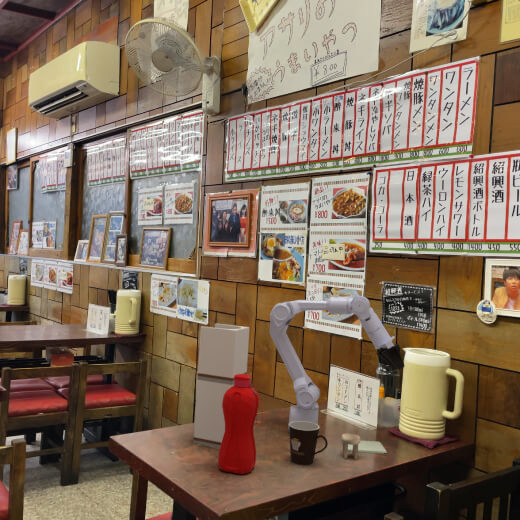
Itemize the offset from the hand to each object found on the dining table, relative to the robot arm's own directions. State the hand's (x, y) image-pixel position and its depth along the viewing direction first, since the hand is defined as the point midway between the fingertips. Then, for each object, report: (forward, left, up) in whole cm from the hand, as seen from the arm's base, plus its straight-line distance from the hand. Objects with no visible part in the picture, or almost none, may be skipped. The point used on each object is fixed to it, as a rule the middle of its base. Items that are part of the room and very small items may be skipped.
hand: (398, 368), depth 170 cm
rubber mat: (-10, -2, -25) cm, 27 cm away
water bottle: (-48, -25, -25) cm, 59 cm away
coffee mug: (-30, -18, -25) cm, 43 cm away
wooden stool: (-16, -11, -25) cm, 31 cm away
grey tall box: (-55, -5, -25) cm, 61 cm away
